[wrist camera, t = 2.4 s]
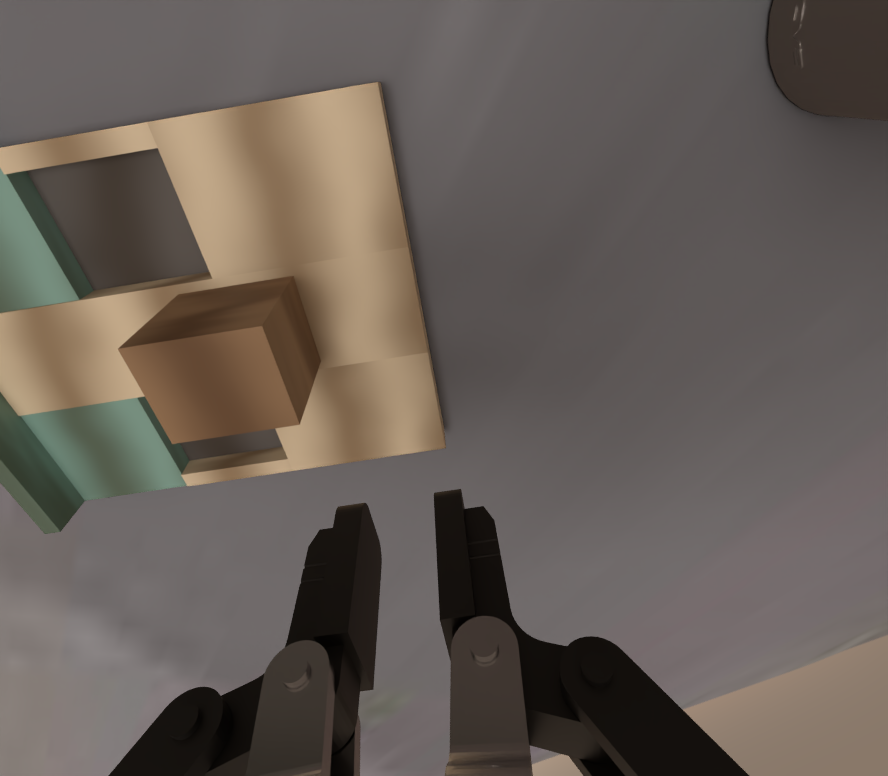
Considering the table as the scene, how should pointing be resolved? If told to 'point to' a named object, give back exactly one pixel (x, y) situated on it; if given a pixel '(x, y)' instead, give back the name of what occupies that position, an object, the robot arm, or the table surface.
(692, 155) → the table surface
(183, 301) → the walnut block
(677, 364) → the table surface
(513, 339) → the table surface
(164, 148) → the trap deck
